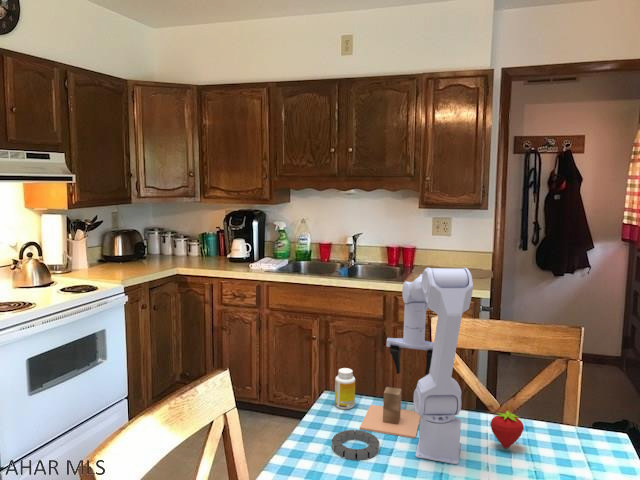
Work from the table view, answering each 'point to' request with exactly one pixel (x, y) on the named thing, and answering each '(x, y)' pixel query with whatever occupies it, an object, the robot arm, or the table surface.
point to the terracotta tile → (404, 428)
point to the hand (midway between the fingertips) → (412, 374)
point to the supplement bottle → (345, 389)
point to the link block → (392, 405)
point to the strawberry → (506, 428)
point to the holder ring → (355, 453)
